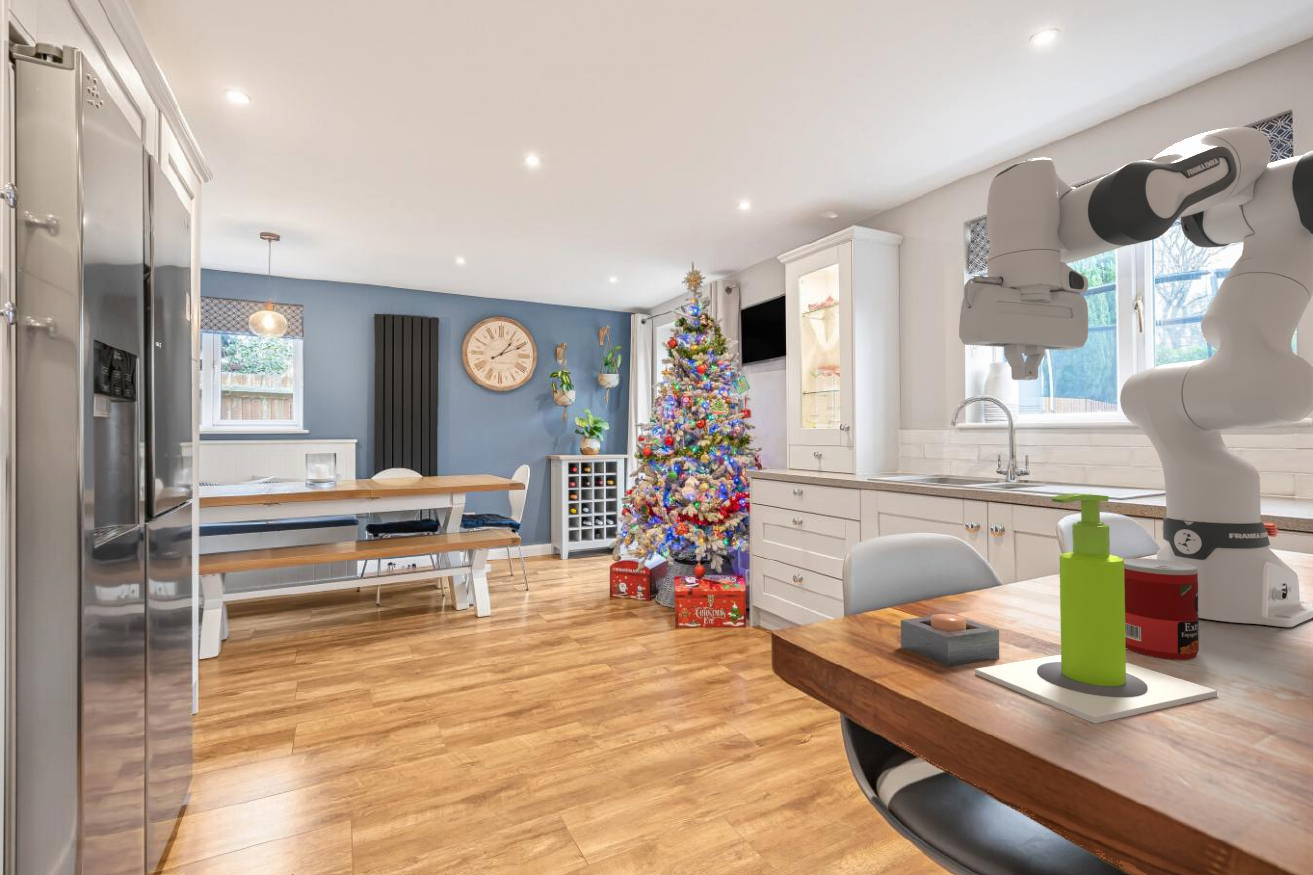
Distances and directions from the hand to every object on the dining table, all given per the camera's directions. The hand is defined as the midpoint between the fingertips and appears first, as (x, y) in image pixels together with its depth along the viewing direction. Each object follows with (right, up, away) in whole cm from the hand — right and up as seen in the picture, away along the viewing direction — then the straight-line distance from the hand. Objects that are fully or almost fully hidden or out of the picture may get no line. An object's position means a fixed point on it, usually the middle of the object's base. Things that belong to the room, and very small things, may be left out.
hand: (1024, 379), depth 89 cm
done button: (-14, -34, -8) cm, 37 cm away
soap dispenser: (-4, -34, -18) cm, 39 cm away
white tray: (-4, -35, -19) cm, 40 cm away
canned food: (+13, -35, -7) cm, 38 cm away
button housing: (-14, -35, -8) cm, 39 cm away
